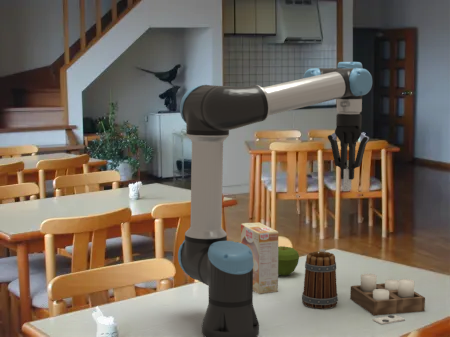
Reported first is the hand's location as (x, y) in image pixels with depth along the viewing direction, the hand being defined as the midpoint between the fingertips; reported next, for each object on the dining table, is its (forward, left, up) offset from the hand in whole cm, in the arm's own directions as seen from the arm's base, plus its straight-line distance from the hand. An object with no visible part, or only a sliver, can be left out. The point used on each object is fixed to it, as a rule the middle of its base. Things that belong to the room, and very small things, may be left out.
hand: (347, 189), depth 227 cm
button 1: (+1, -11, -29) cm, 32 cm away
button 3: (+9, -13, -32) cm, 35 cm away
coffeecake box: (-22, +16, -33) cm, 42 cm away
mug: (-12, -5, -33) cm, 35 cm away
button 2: (-1, -19, -32) cm, 37 cm away
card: (-4, -28, -32) cm, 43 cm away
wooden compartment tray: (+4, -16, -32) cm, 36 cm away
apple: (-8, +25, -33) cm, 42 cm away
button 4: (+7, -21, -29) cm, 37 cm away
